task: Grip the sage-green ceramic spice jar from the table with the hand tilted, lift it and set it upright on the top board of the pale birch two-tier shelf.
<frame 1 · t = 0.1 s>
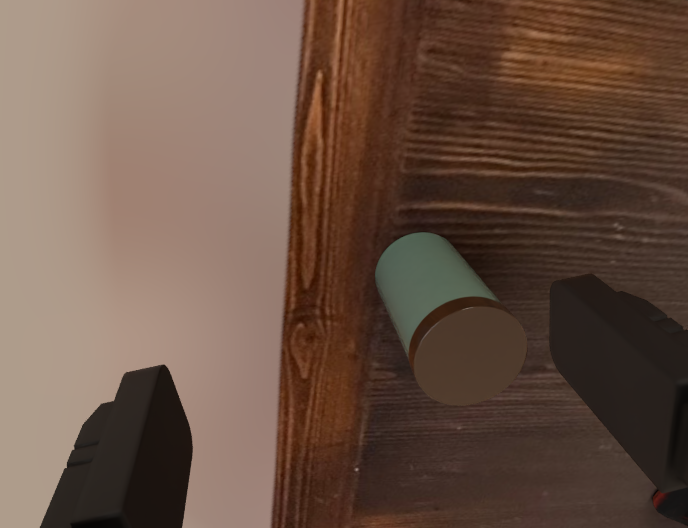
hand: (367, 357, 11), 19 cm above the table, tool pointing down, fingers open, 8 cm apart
jar: (417, 272, 33), on the table
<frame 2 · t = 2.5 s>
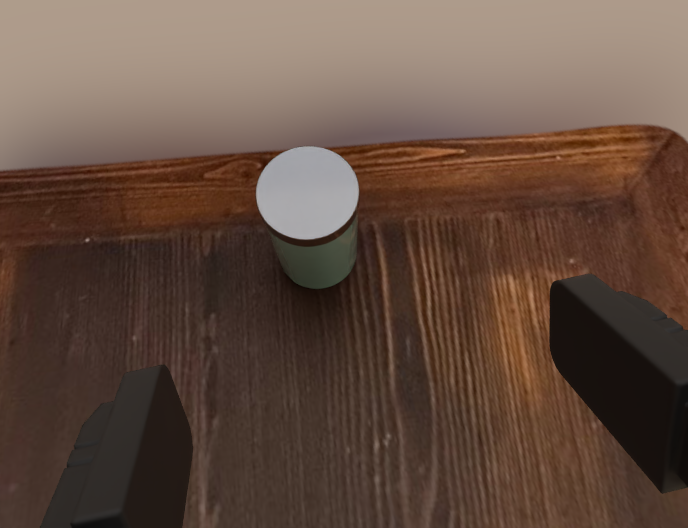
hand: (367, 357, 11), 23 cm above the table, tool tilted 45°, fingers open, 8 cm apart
jar: (317, 251, 36), on the table
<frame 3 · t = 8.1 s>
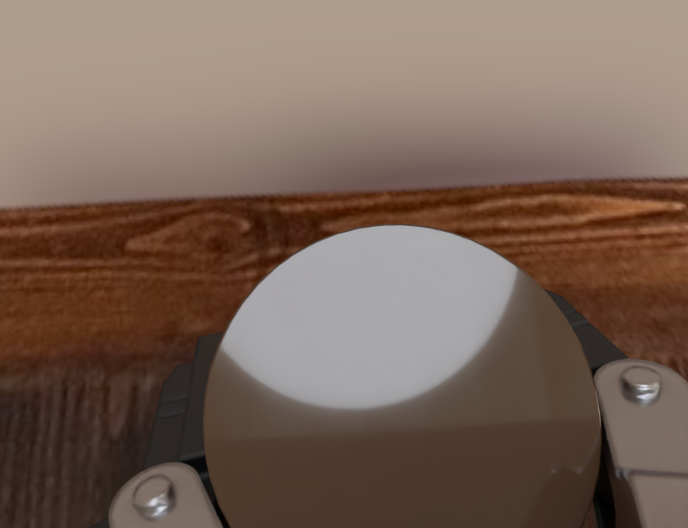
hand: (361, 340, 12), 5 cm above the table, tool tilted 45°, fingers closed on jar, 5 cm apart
jar: (371, 433, 16), on the table, touching gripper
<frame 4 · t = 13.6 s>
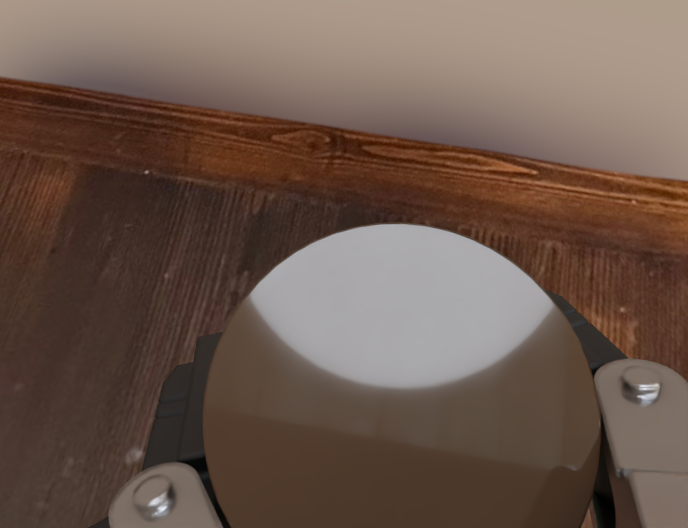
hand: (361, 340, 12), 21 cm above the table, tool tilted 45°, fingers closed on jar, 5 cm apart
jar: (371, 433, 16), point 16 cm above the table, touching gripper
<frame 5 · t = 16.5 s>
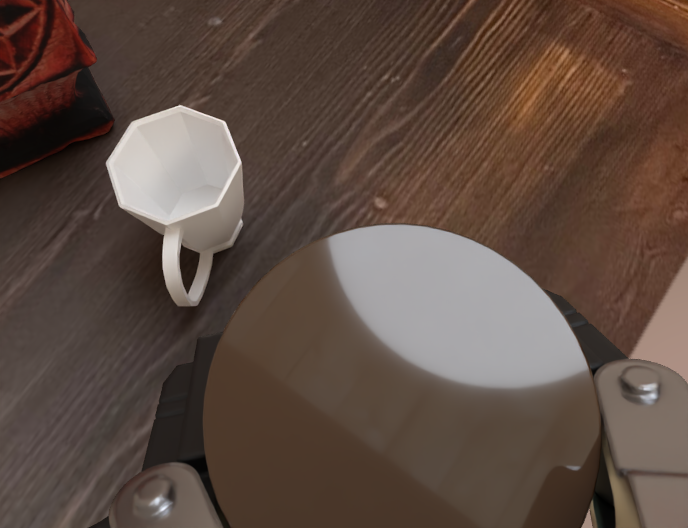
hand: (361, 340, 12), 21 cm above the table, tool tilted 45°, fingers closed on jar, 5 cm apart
cup: (208, 246, 35), on the table
red carved wooden box: (20, 105, 39), on the table
jar: (371, 433, 16), point 16 cm above the table, touching gripper
when the fingers open (16 cm above the table, at t = 19.1 s): jar stays where it is, resting on shelf.
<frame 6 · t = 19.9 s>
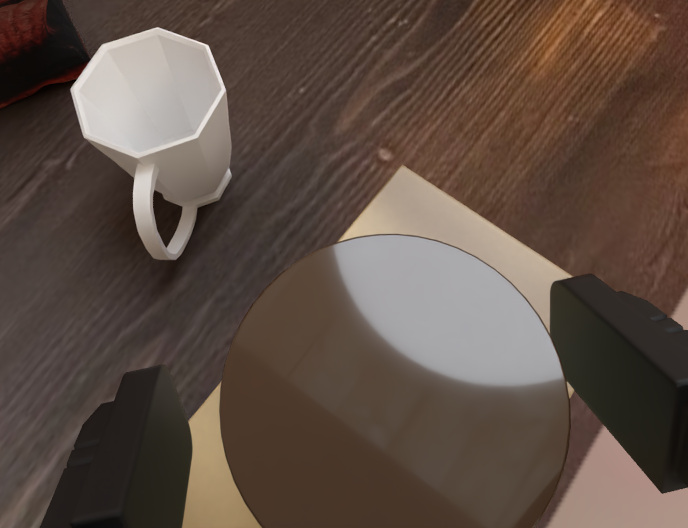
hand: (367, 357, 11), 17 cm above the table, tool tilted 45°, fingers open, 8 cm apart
cup: (193, 200, 32), on the table
shelf: (361, 436, 27), on the table
jar: (370, 426, 17), point 11 cm above the table, touching shelf
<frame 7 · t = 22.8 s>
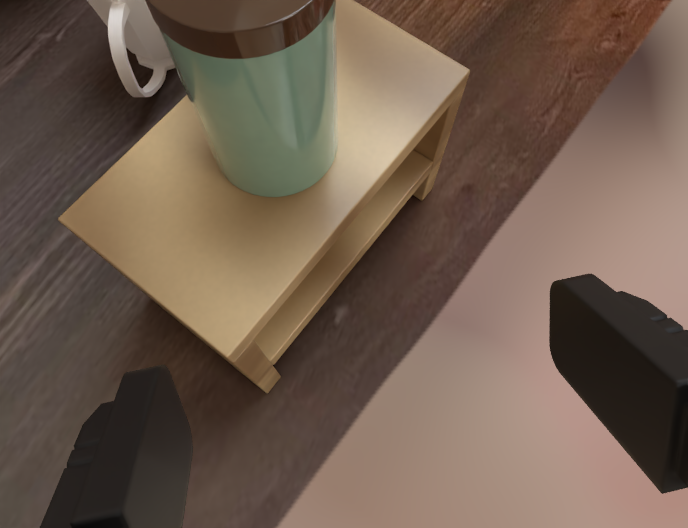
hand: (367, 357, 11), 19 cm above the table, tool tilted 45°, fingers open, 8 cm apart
cup: (163, 65, 38), on the table
shelf: (296, 240, 33), on the table
jar: (275, 141, 23), point 11 cm above the table, touching shelf
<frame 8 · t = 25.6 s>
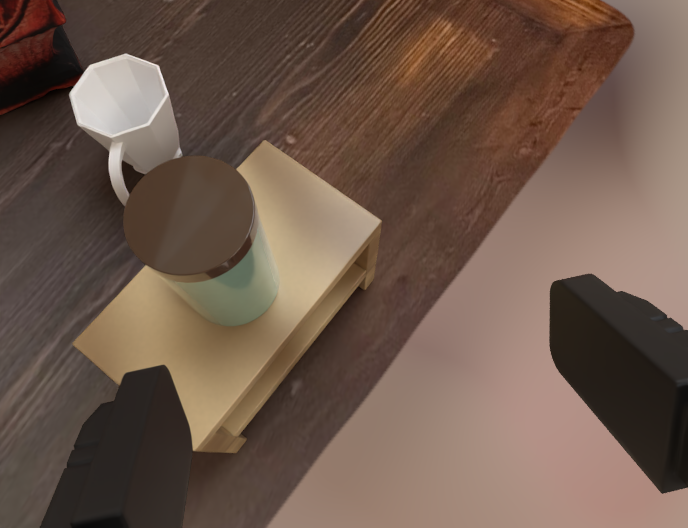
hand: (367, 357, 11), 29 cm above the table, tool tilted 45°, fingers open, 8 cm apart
cup: (154, 171, 45), on the table
shelf: (261, 324, 41), on the table
red carved wooden box: (11, 62, 49), on the table
jar: (233, 281, 30), point 11 cm above the table, touching shelf
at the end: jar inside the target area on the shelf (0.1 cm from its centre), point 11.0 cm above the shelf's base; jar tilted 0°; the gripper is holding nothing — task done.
